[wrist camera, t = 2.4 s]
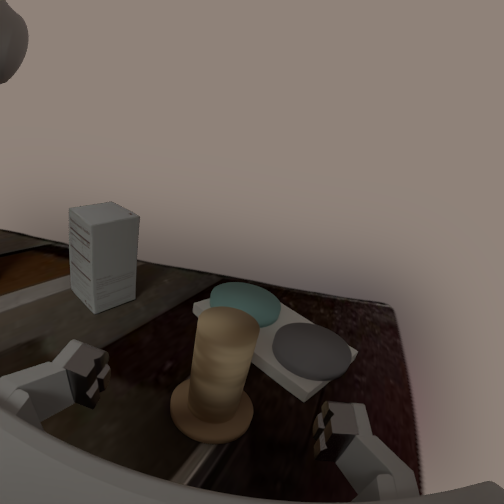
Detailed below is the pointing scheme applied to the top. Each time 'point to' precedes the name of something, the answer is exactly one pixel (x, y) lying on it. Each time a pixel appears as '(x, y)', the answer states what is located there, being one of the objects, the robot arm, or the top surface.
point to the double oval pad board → (285, 340)
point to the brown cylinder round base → (217, 378)
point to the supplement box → (103, 254)
